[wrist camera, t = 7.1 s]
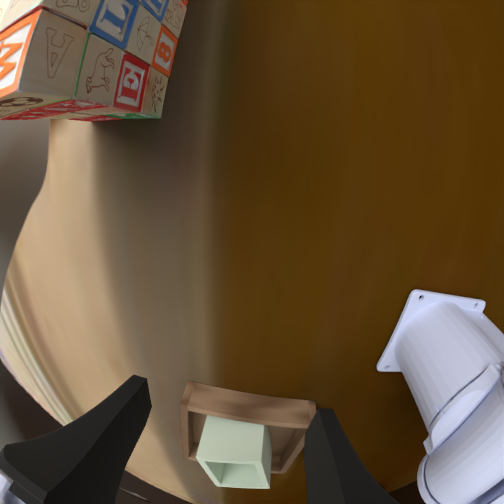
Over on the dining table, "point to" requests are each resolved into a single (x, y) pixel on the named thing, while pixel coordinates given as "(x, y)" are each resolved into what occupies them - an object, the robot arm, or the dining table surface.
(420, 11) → the dining table surface
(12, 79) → the stack of blocks
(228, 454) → the box
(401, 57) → the dining table surface
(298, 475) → the dining table surface
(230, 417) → the big crate
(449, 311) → the robot arm
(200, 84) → the dining table surface
